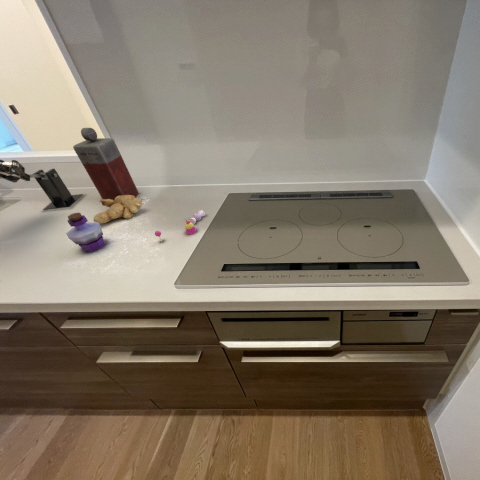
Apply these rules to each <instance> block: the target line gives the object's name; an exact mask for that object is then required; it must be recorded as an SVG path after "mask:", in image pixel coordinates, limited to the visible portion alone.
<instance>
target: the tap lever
mask: <svg viewBox="0 0 480 480" xmlns="http://www.w3.org/2000/svg"><path fill="white" fill-rule="evenodd" d="M12 172H13V173H15V171H14V170H12ZM46 172H47V171H46ZM46 172H45V171H44V173H39V174H33V173H32V174H33V175H32V174H29V175H30V179H32V178H33V179H35V178H40V177H41V179H48V177H47V176H46V174H45V173H46ZM5 177H6V178H7V179H8V180H10V181H9V182H11V181H17V182H19V181H20V180H21V179H20V178H18V177H15V176H12V175H9V176H7V175H5ZM8 180H7V181H8Z"/></svg>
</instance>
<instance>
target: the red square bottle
mask: <svg viewBox="0 0 480 480" xmlns="http://www.w3.org/2000/svg"><path fill="white" fill-rule="evenodd" d="M80 135H81V137H82V138H83V139H84V140H83V141H81V142H78V143H76V144H74V145H73V147H72V148H73V150H74V152H75V154H76V156H77V157H78V159H79V162H81V164H82V166H83V168H84V169H85V171H86V173H87V175H88V176H89V179H90V180H91V182H92V183H93V185H94V187H95V189H96V190H97V192H98V194H99V196H100V198H101V200H102V199H111V200H115V198H116V197H117V196H120V195H132V196H135V198H137V197H138V196H139V195H140V192H139V190H138V188H137V185H136V183H135V182H134V179H133V177H132V176H131V173H130V171H129V169H128V166H127V164H126V163H125V161H124V159H123V156H122V155H121V152H120V150H119V148H118V145H117V143H116V142H115V140H114V139H113V138H110V137H102V138H101V137H100V138H99V137H98V133H97V131H96V130H95V129H94V128H92V127H82V128H81V130H80Z"/></svg>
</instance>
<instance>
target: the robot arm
mask: <svg viewBox="0 0 480 480" xmlns="http://www.w3.org/2000/svg"><path fill="white" fill-rule="evenodd" d="M12 171H14V172H15V173H13V172H12ZM5 175H7V176H9V175H12V176H15V177H18V178H20V179H19V180H23V181H25V182H30V181H31V178H30V175H31V174H28V173H26V168H25V166H23V164H21V163H20V162H19V161H18V160H15V159H12V160H11V161H10V162H9V161H5V160H3V159H0V180H6V181H8V182H11V183H18V181H10V180H8V179H7V178H6V177H5Z"/></svg>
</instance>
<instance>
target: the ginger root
mask: <svg viewBox="0 0 480 480" xmlns="http://www.w3.org/2000/svg"><path fill="white" fill-rule="evenodd" d="M99 202H100V204H101V205H102V206H104V207H107V208H108V210H105V211H102V212H99V213H97V214H96V215H94V216H93V221H92V222H98V223H99V225H101V224H107V223H108V222H110V221H113V220H116V219H119V218H123V219H128V220H129V219H131V218H132V217H133V216H134V214H136V213H138V212H139V210H140V209H141V207H142V206H143V200H142V199H141V198H139V197H135V196H132V195H120V196H117V197H116V198H115V200H111V199H102V198H101V199H100V200H99Z"/></svg>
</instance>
